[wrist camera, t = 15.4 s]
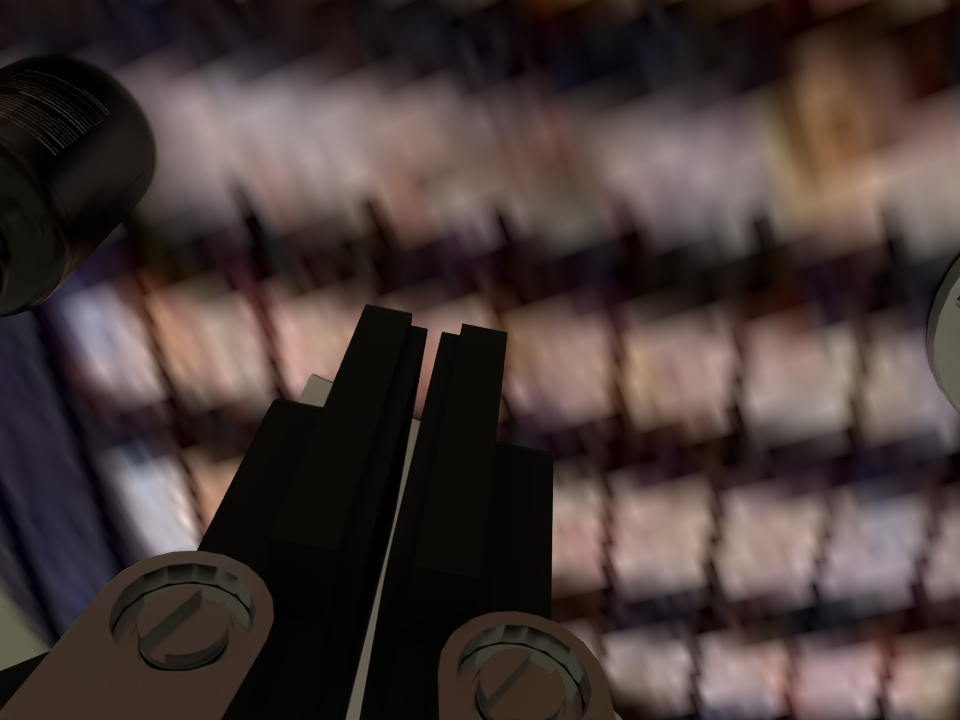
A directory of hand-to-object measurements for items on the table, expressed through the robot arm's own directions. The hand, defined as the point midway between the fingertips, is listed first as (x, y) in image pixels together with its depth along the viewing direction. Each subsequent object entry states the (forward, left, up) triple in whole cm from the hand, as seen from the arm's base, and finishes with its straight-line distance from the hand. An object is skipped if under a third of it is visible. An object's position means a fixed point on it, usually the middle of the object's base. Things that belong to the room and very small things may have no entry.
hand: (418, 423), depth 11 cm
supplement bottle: (+16, +8, -26) cm, 31 cm away
